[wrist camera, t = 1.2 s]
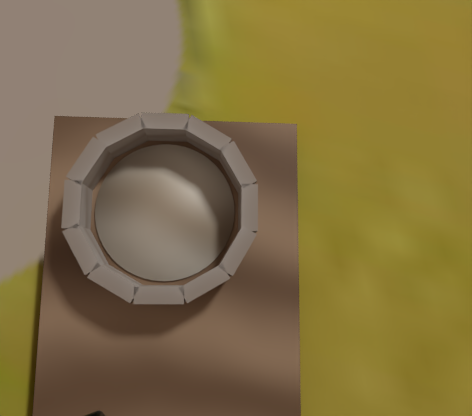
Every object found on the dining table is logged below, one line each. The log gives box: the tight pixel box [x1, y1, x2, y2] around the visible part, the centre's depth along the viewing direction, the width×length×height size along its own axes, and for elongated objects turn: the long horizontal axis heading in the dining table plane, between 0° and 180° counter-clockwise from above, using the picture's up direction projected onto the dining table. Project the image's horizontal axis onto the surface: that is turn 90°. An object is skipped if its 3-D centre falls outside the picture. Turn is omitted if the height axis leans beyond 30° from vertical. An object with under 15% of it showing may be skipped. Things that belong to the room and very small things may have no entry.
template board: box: [33, 113, 301, 416], centre depth 21 cm, size 16×13×3 cm
